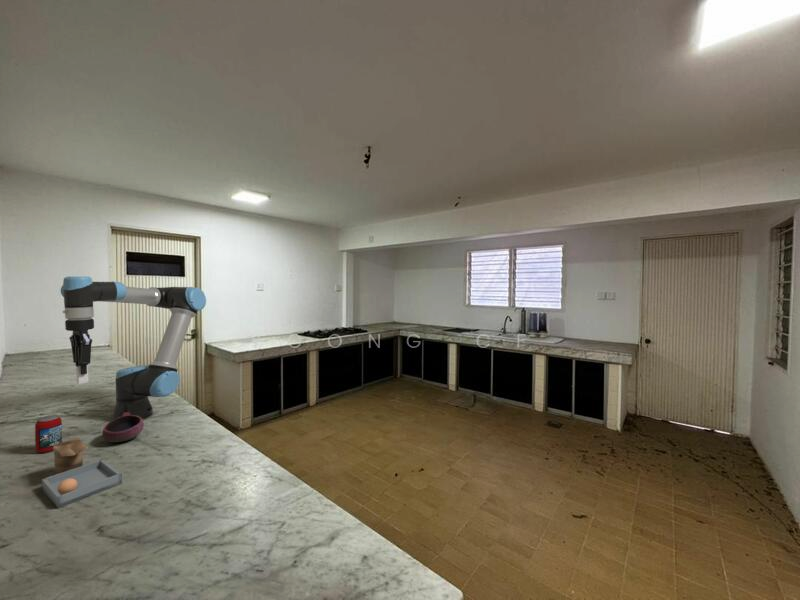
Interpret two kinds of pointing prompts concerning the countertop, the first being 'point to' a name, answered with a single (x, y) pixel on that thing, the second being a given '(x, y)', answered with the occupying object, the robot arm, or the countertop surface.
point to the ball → (67, 486)
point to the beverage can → (48, 433)
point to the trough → (68, 455)
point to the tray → (82, 482)
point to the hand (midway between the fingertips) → (82, 382)
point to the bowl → (123, 428)
